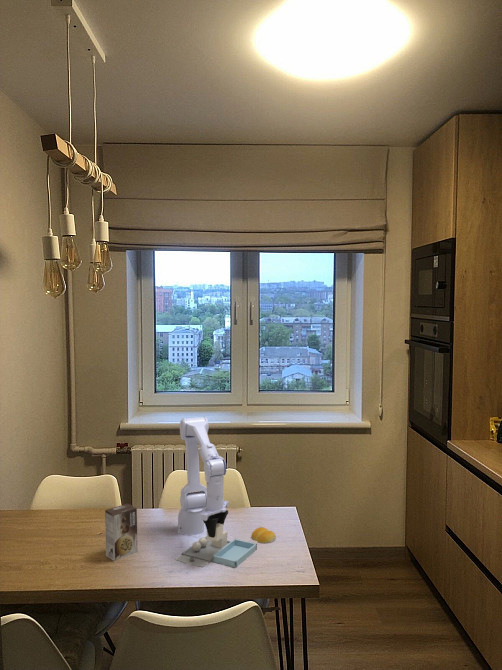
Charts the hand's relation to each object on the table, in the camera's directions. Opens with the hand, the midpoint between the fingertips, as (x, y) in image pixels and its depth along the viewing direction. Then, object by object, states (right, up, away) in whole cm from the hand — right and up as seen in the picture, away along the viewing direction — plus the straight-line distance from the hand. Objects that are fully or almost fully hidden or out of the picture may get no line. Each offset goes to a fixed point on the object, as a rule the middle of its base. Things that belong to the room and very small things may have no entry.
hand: (215, 534), depth 176 cm
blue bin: (+7, -9, +2) cm, 11 cm away
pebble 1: (-7, -8, +5) cm, 12 cm away
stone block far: (+1, -8, +10) cm, 13 cm away
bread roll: (+17, -9, +16) cm, 25 cm away
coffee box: (-33, -9, +4) cm, 34 cm away
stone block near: (0, -1, 0) cm, 1 cm away
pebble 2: (-5, -8, +9) cm, 13 cm away
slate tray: (-4, -8, +5) cm, 11 cm away
